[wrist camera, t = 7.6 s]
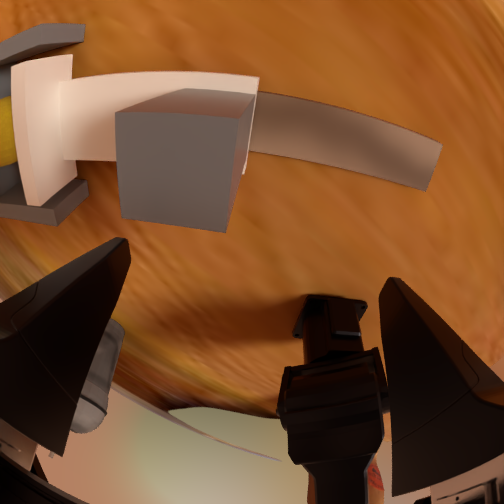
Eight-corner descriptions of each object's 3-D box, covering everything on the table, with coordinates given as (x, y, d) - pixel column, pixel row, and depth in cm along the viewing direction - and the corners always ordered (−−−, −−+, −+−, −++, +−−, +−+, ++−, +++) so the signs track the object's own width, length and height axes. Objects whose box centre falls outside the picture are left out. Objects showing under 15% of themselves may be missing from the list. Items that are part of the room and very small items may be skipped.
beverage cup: (110, 345, 36) (68, 465, 20) (77, 312, 32) (20, 439, 16) (144, 341, 34) (102, 481, 18) (109, 304, 30) (46, 456, 14)
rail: (420, 186, 19) (425, 191, 18) (213, 141, 18) (210, 145, 18) (436, 140, 16) (442, 144, 16) (219, 86, 16) (216, 87, 15)
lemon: (57, 161, 18) (-27, 196, 12) (44, 126, 18) (-29, 154, 13) (59, 103, 14) (-42, 139, 8) (47, 74, 14) (-37, 102, 9)
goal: (89, 195, 21) (57, 226, 17) (20, 189, 21) (-10, 215, 17) (85, 24, 12) (41, 23, 8) (8, 51, 12) (-31, 60, 8)
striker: (242, 192, 19) (219, 292, 12) (64, 175, 19) (-12, 242, 11) (264, 47, 13) (253, 21, 6) (58, 57, 13) (-44, 84, 5)
